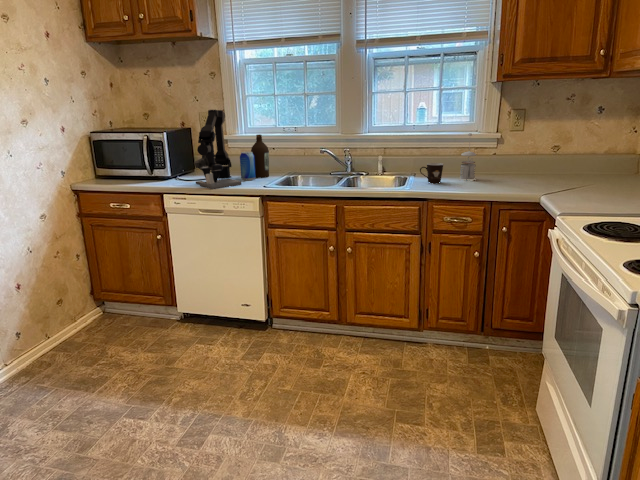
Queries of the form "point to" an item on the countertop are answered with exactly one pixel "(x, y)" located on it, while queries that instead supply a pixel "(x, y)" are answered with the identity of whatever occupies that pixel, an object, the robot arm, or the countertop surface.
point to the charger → (209, 178)
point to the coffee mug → (433, 172)
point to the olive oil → (261, 158)
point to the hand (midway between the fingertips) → (211, 181)
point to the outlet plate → (221, 183)
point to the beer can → (247, 166)
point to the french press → (468, 165)
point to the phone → (199, 182)
